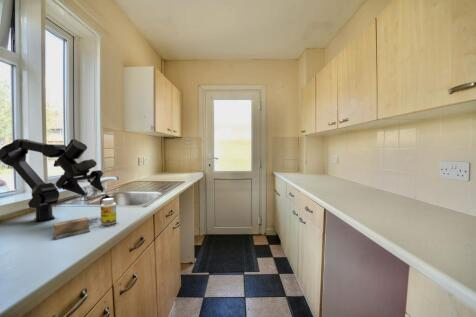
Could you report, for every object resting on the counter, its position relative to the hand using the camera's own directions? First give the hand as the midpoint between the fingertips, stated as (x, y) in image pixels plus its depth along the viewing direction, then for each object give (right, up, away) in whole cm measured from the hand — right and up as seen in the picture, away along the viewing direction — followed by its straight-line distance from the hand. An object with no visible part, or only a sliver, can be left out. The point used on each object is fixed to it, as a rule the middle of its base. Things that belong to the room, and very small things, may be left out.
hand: (94, 192), depth 95 cm
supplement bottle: (+7, -13, -1) cm, 14 cm away
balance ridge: (-1, -13, -12) cm, 18 cm away
